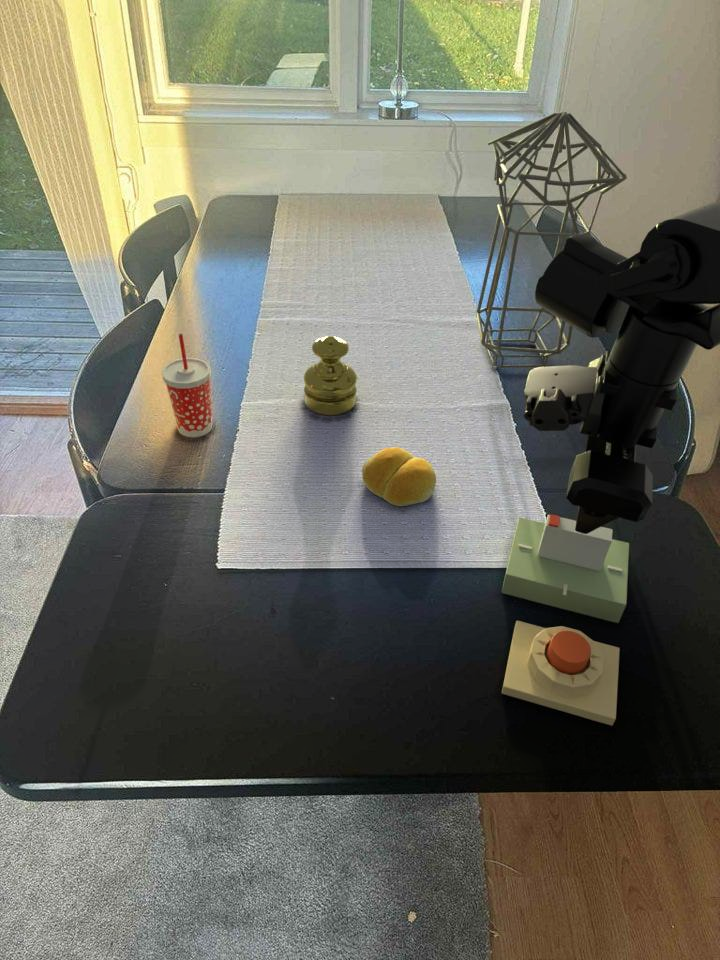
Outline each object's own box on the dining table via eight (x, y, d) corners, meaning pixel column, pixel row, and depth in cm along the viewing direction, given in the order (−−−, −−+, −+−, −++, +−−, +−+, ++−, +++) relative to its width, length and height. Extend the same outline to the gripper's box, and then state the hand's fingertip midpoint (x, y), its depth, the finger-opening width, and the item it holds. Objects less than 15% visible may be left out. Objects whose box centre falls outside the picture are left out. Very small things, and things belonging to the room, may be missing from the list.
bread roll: (410, 518, 82) (413, 493, 79) (351, 485, 86) (352, 460, 83) (449, 483, 87) (453, 458, 84) (392, 453, 91) (393, 429, 88)
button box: (616, 654, 68) (625, 636, 66) (612, 726, 63) (621, 708, 61) (514, 627, 70) (519, 608, 69) (501, 693, 65) (506, 675, 63)
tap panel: (622, 556, 78) (630, 536, 76) (617, 630, 71) (626, 610, 69) (515, 530, 81) (520, 510, 79) (499, 599, 73) (504, 579, 71)
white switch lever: (601, 559, 74) (613, 527, 71) (600, 571, 72) (612, 539, 69) (539, 544, 75) (548, 512, 72) (537, 556, 74) (546, 524, 71)
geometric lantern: (554, 332, 117) (609, 99, 94) (575, 385, 105) (644, 132, 82) (460, 329, 116) (492, 95, 93) (470, 381, 105) (509, 128, 82)
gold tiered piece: (309, 419, 96) (308, 356, 90) (300, 389, 102) (298, 328, 95) (361, 413, 98) (363, 350, 91) (349, 384, 103) (351, 323, 97)
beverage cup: (170, 416, 96) (153, 324, 87) (216, 411, 97) (204, 320, 88) (173, 443, 91) (155, 349, 82) (220, 437, 93) (208, 344, 83)
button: (587, 647, 66) (592, 636, 65) (584, 679, 63) (589, 667, 62) (549, 637, 66) (553, 625, 65) (544, 667, 64) (548, 656, 63)
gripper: (558, 287, 64) (516, 418, 75) (530, 406, 51) (485, 543, 62) (682, 316, 62) (621, 445, 73) (686, 447, 49) (611, 580, 60)
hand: (584, 497), depth 67 cm, fingers open, 9 cm apart
